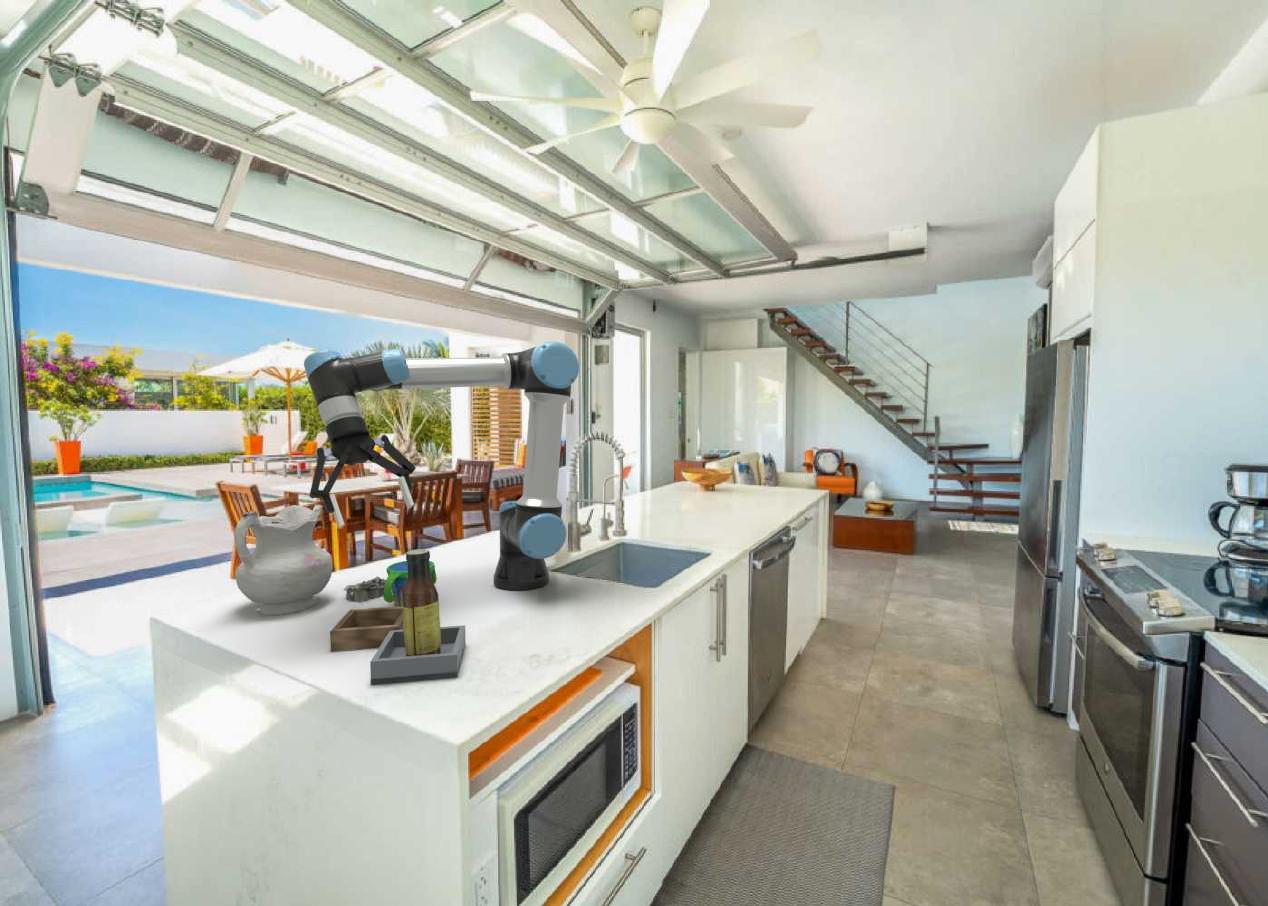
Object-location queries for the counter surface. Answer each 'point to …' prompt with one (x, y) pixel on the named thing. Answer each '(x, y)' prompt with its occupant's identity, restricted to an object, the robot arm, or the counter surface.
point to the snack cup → (400, 581)
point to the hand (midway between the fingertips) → (377, 516)
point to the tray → (418, 658)
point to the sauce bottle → (420, 607)
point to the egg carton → (365, 590)
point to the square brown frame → (365, 628)
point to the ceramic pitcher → (282, 560)
